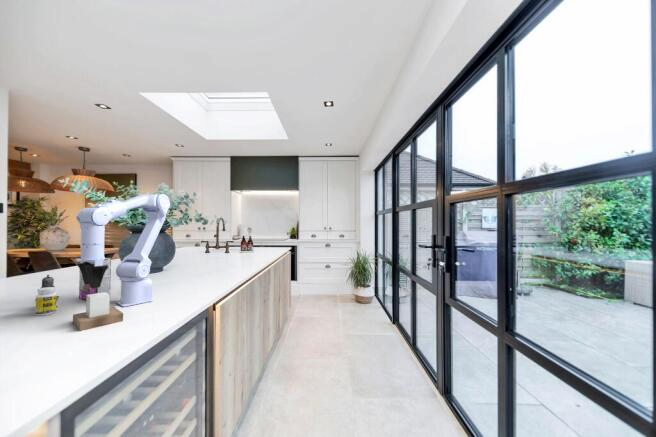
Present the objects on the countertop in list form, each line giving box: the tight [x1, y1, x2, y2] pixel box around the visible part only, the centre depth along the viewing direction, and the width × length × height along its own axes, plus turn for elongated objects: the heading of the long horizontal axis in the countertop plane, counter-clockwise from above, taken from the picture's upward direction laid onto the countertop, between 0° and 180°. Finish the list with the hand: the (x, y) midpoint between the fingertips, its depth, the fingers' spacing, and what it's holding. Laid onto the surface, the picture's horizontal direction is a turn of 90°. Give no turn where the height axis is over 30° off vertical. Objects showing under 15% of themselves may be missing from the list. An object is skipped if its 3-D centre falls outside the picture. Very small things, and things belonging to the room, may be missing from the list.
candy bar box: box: [78, 257, 112, 301], centre depth 104 cm, size 11×5×16 cm, turn 71°
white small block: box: [85, 292, 111, 318], centre depth 82 cm, size 5×5×6 cm
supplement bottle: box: [34, 286, 58, 317], centre depth 88 cm, size 5×5×8 cm
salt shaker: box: [34, 274, 60, 309], centre depth 94 cm, size 6×6×12 cm
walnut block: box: [72, 306, 124, 332], centre depth 82 cm, size 10×10×3 cm
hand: (92, 285), depth 86 cm, fingers open, 7 cm apart
